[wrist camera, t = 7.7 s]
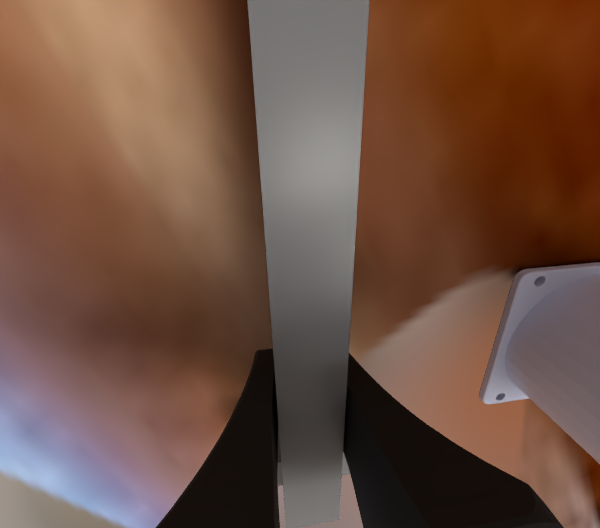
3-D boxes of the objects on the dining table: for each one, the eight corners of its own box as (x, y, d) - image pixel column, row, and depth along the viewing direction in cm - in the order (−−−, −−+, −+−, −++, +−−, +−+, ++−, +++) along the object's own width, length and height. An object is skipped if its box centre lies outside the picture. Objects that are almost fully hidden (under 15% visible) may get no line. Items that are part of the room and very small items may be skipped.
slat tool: (376, -155, 7) (537, -560, 3) (344, 411, 15) (376, 512, 11) (168, -177, 7) (19, -718, 2) (248, 425, 14) (245, 537, 10)
